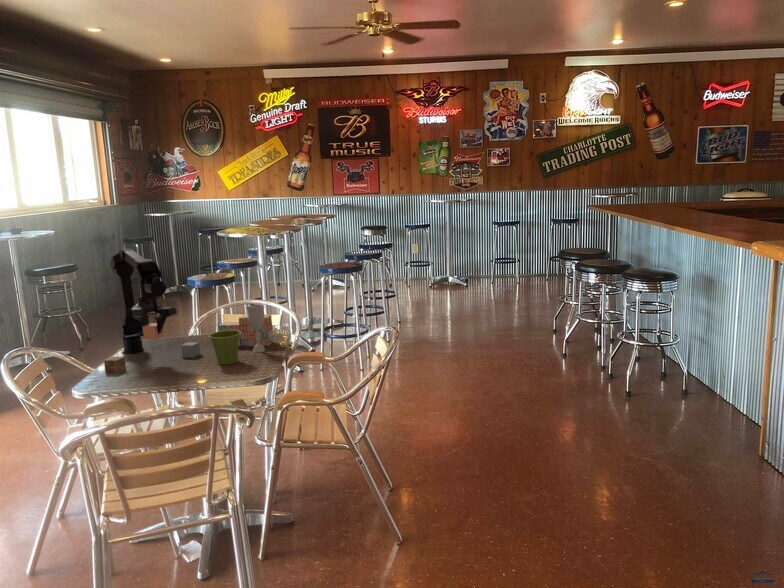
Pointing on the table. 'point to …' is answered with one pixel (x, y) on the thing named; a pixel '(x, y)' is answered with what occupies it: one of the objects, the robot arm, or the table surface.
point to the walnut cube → (115, 364)
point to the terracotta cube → (151, 331)
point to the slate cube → (190, 349)
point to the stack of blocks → (250, 331)
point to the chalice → (256, 323)
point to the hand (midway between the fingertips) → (153, 333)
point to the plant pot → (226, 346)
